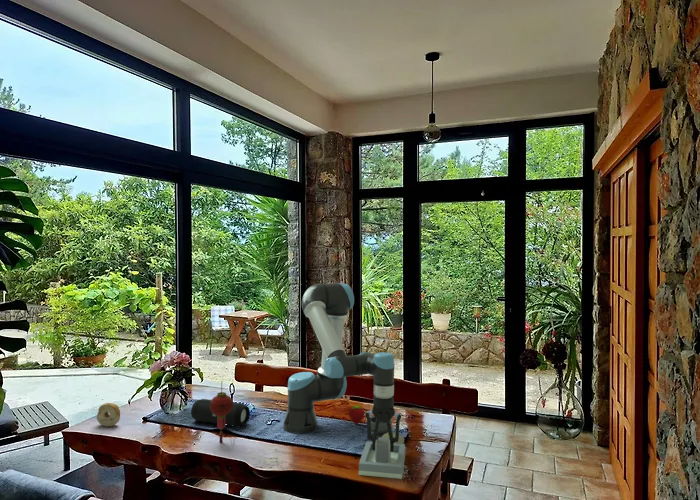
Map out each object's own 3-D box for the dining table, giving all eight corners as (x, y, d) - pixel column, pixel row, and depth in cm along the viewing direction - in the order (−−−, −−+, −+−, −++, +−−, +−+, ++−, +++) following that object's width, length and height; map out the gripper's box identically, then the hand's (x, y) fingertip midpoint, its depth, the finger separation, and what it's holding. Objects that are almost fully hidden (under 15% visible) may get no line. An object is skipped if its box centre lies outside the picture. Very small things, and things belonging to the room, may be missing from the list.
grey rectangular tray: (358, 474, 163) (359, 463, 163) (366, 451, 183) (366, 441, 183) (401, 478, 161) (402, 467, 161) (405, 454, 180) (405, 444, 180)
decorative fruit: (363, 427, 208) (363, 405, 208) (346, 426, 210) (347, 403, 210) (365, 423, 214) (366, 401, 214) (349, 421, 216) (350, 399, 216)
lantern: (207, 439, 193) (208, 367, 193) (230, 436, 196) (231, 365, 197) (210, 448, 184) (211, 372, 184) (234, 445, 188) (235, 370, 188)
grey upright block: (376, 464, 168) (376, 444, 169) (378, 455, 175) (378, 437, 175) (387, 465, 168) (387, 445, 168) (389, 456, 175) (389, 438, 175)
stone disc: (122, 424, 209) (122, 402, 209) (116, 427, 205) (116, 405, 205) (101, 423, 210) (101, 400, 211) (95, 426, 207) (96, 403, 207)
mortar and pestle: (371, 430, 205) (371, 403, 205) (392, 432, 203) (392, 405, 203) (366, 440, 194) (366, 411, 194) (389, 442, 192) (389, 413, 192)
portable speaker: (189, 424, 211) (189, 401, 211) (202, 416, 220) (203, 395, 221) (239, 431, 203) (239, 407, 203) (250, 423, 213) (251, 401, 213)
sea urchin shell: (377, 436, 194) (390, 422, 194) (390, 449, 194) (404, 435, 194) (380, 445, 184) (394, 430, 185) (394, 459, 185) (408, 444, 185)
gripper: (359, 397, 170) (358, 461, 169) (406, 400, 167) (405, 465, 167) (362, 391, 177) (361, 453, 177) (407, 394, 174) (406, 457, 174)
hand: (382, 459), depth 172 cm, fingers closed on grey upright block, 4 cm apart
